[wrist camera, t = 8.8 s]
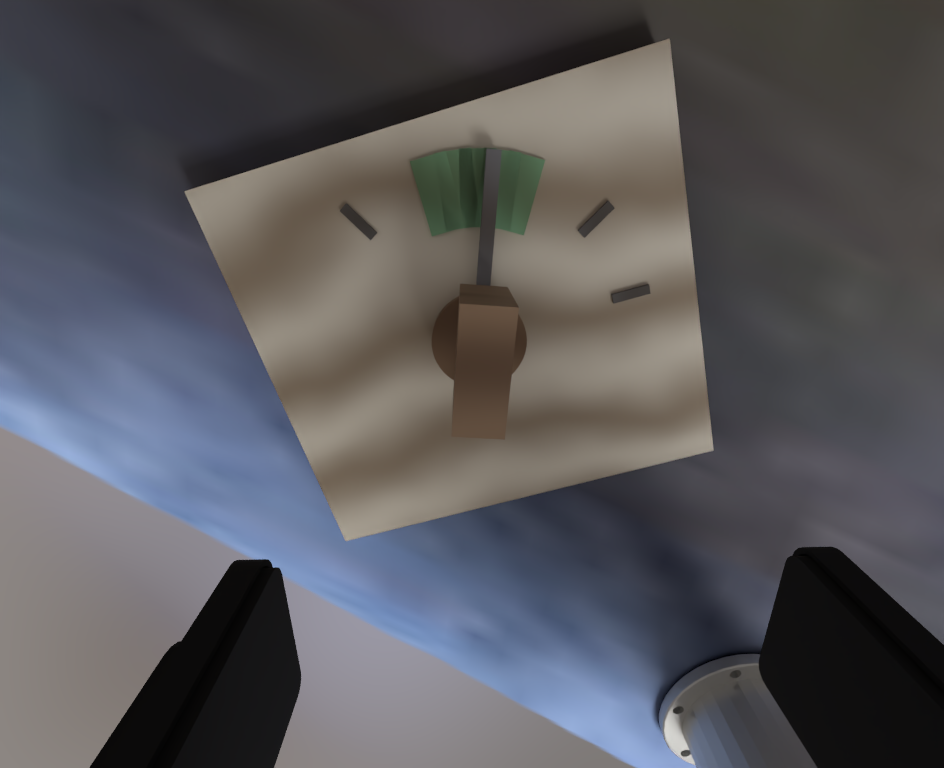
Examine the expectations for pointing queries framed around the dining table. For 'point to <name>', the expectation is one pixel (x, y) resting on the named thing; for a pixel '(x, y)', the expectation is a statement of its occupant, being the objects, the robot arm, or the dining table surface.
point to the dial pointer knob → (481, 334)
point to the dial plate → (455, 262)
